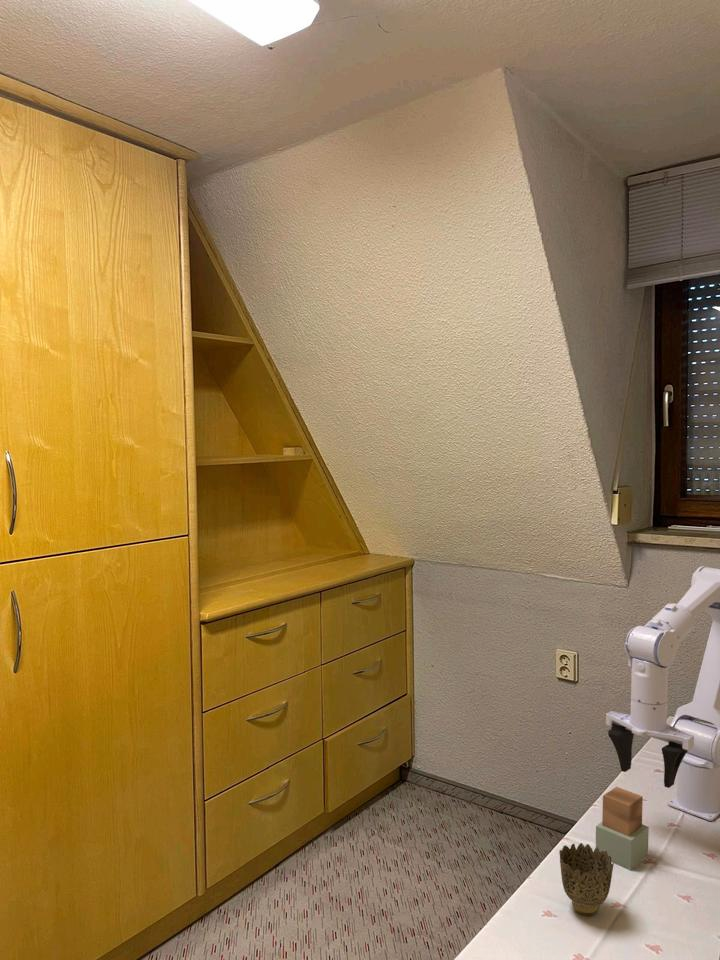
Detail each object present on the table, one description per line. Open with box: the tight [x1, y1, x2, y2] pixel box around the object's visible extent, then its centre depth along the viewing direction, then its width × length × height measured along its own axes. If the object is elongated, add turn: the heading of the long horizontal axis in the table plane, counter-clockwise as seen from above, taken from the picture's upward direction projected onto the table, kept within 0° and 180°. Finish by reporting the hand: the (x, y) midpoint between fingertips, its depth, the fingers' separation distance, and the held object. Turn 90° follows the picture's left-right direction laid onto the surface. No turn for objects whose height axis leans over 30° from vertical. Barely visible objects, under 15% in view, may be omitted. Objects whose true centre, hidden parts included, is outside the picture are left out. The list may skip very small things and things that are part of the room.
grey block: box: [595, 821, 650, 872], centre depth 120 cm, size 6×6×5 cm
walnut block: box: [601, 786, 644, 836], centre depth 120 cm, size 4×4×5 cm
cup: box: [559, 842, 615, 917], centre depth 106 cm, size 8×7×8 cm
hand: (647, 777), depth 125 cm, fingers open, 7 cm apart
